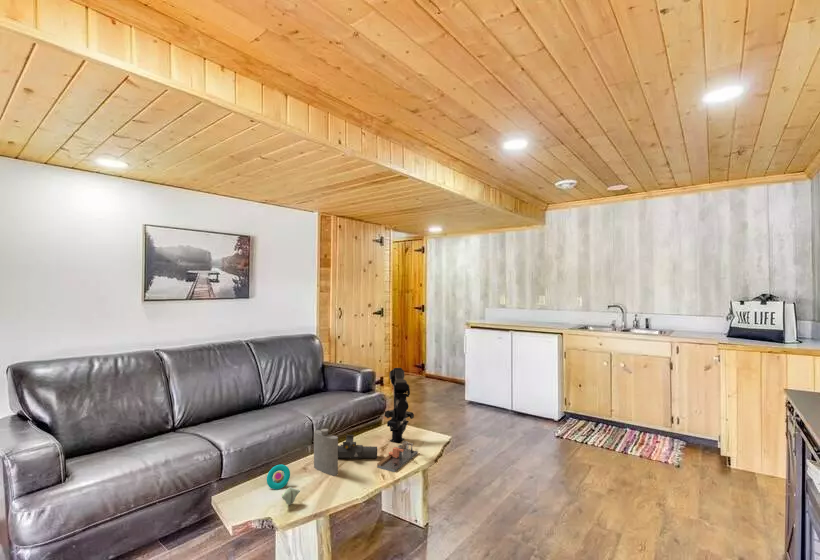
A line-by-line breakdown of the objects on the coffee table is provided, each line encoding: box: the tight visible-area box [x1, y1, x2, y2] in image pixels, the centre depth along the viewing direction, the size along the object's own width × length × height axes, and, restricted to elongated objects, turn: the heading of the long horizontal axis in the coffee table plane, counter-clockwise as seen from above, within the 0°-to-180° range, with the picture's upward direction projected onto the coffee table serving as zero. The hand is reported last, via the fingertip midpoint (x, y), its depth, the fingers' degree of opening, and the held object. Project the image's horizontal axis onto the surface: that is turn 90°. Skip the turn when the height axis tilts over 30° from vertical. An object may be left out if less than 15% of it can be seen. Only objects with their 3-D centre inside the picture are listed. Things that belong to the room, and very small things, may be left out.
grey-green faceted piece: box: [281, 486, 301, 506], centre depth 168 cm, size 8×4×7 cm, turn 130°
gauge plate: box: [376, 440, 419, 473], centre depth 209 cm, size 24×10×6 cm, turn 151°
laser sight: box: [338, 434, 378, 460], centre depth 212 cm, size 10×22×10 cm, turn 88°
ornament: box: [266, 463, 291, 490], centre depth 184 cm, size 11×4×10 cm
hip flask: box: [313, 428, 339, 477], centre depth 198 cm, size 16×4×20 cm, turn 52°
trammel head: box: [388, 446, 404, 458], centre depth 210 cm, size 2×8×4 cm, turn 61°
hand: (400, 435), depth 214 cm, fingers closed
